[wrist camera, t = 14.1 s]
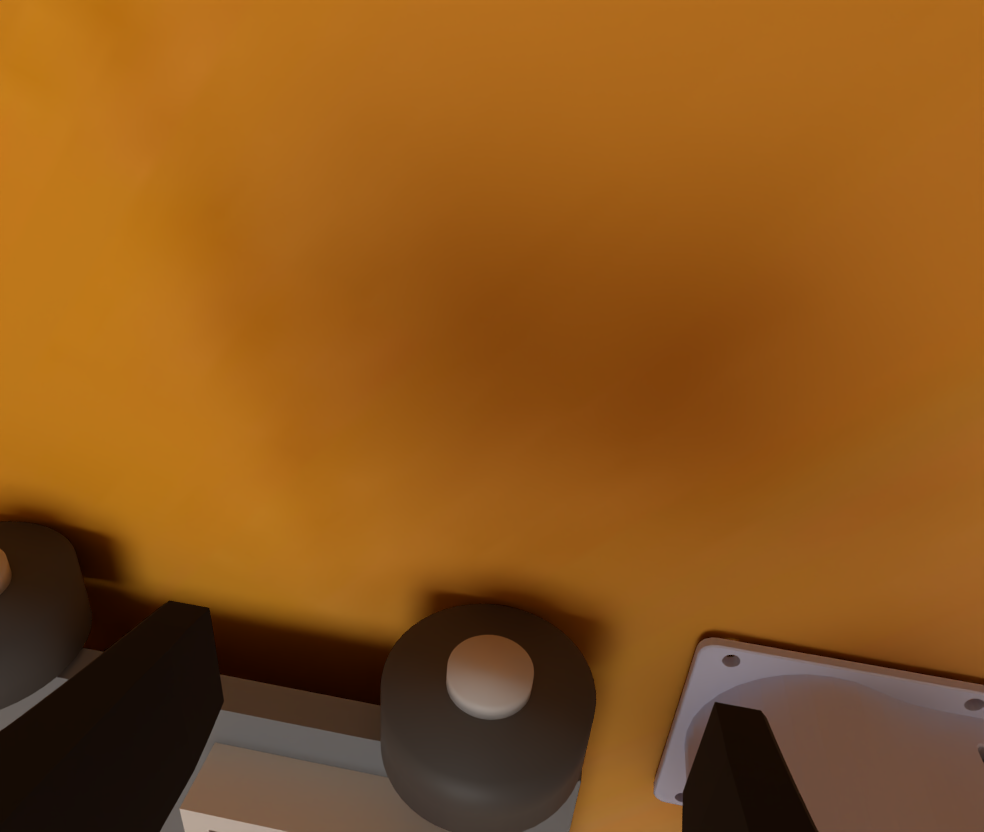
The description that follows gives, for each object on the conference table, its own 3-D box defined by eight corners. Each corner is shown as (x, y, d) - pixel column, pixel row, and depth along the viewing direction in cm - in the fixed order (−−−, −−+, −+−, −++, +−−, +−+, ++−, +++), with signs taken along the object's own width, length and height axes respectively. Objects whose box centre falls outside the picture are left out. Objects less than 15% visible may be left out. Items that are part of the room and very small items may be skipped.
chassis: (603, 608, 23) (593, 790, 18) (536, 916, 33) (518, 1091, 28) (-56, 492, 25) (-229, 625, 20) (64, 814, 35) (-33, 958, 30)
